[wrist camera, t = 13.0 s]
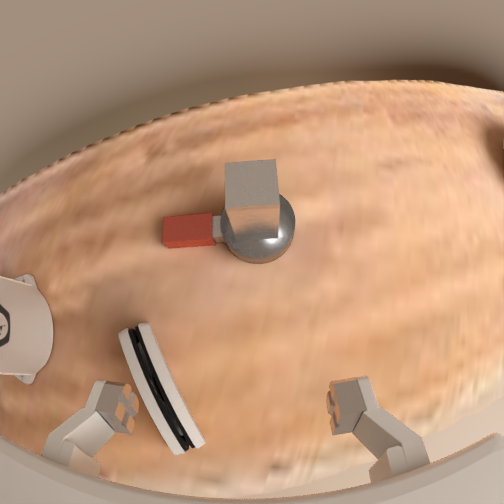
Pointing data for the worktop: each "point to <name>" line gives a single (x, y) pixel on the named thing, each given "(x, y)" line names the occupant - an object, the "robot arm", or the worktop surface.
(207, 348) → the worktop surface
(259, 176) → the grey block
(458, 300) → the worktop surface
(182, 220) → the grey dome with handle
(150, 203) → the worktop surface
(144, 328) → the grey black slotted block
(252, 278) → the worktop surface
